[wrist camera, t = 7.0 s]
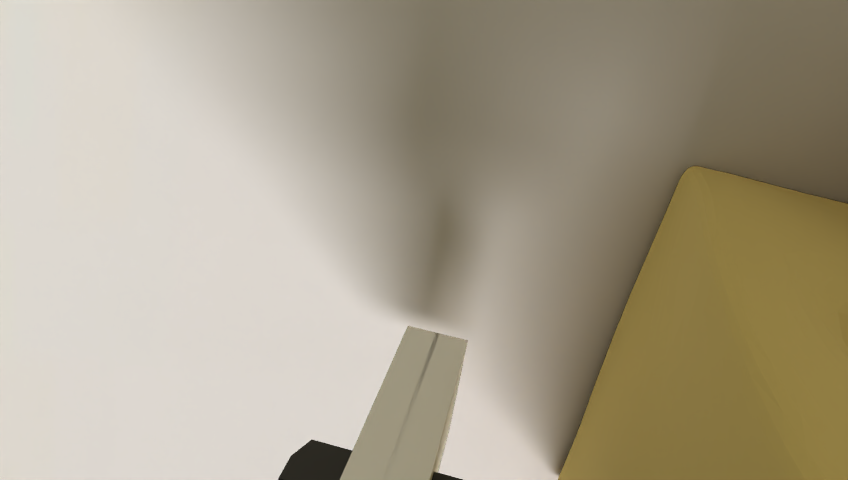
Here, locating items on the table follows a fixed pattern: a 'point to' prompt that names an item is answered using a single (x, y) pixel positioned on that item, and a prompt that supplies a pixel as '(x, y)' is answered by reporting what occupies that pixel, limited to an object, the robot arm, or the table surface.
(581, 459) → the cheese
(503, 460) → the table surface
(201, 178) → the table surface
